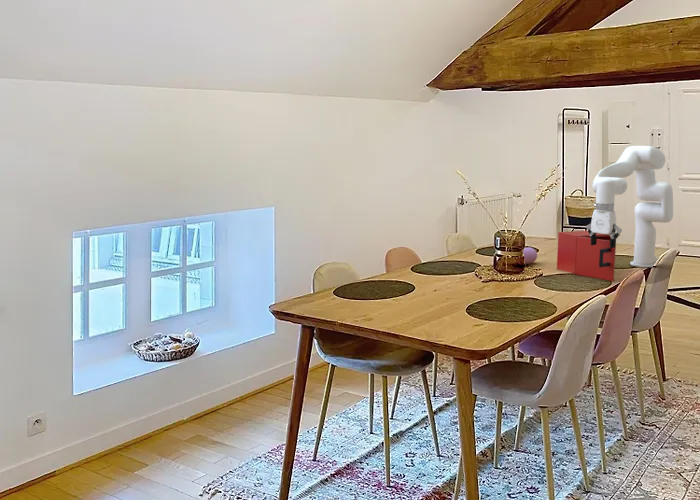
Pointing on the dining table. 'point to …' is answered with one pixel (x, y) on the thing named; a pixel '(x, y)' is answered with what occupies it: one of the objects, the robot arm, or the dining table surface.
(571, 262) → the cabinet
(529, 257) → the toy
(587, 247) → the door
